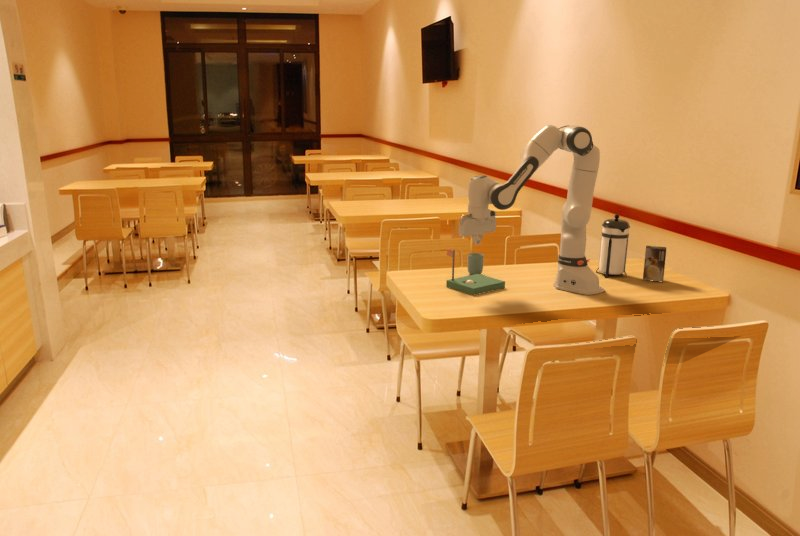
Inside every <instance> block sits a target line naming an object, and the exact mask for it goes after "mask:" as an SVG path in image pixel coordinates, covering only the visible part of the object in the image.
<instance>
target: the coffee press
mask: <svg viewBox="0 0 800 536" xmlns="http://www.w3.org/2000/svg"><path fill="white" fill-rule="evenodd" d="M601 226H602V230H601V238H600V240H601V241H600V251H599V261H598V262H599V263H598V268H597V269H596V270H595V272H596V273H597V272H598V270H599V272H601V273H602V274H604V278H606V277H607V278H610V277H609V276H610V275H621V276H622V277H623V278H625V277H627V276H628V274H627V272H626V266H627V265H626V263H627V255H628V246H629V245H628V244H629V237H630V233H629V232H630V229H631V225H630V223H629V221H627V220H624V219H621V218H620V215H619V214H615V215H614V218H608V219H605V220H604V221H603V223H602V224H601ZM623 273H624V274H623ZM624 276H625V277H624ZM607 278H606V279H607Z"/></svg>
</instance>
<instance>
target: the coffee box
mask: <svg viewBox="0 0 800 536" xmlns="http://www.w3.org/2000/svg"><path fill="white" fill-rule="evenodd" d="M666 256H667V247H666V246H655V245H645V253H644V263H643V275H642V281H643V280H653V281H663V282H664V279H665V277H664V276H665V268H666V267H665V266H666Z"/></svg>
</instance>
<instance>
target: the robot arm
mask: <svg viewBox="0 0 800 536" xmlns="http://www.w3.org/2000/svg"><path fill="white" fill-rule="evenodd" d="M558 149H560V150H563V151H566V152H568V153H572V156H573V162H572V166H571V171H570V176H569V181H568V186H567V196H566V200H565V201H566V202H565V203H564V204H563V205H562V207H561V217H560V219H561V221H560V245H559V246H560V247H559V254H558V259H557V263H558V266H557V271H556V272H557V273H556V277H555V279H554V282H553V286H554V287H555V289H556V290H561V291H566V292H570V293H574V294H575V293H576V294H580V295H586V296H590V295H592V296H593V295H597V294H601V293H603V292H604V291H605V288H604V287H603V286H600V279H599V276H598V275H597V274H596V273H595V272H594V270H592V269H591V268H590V267H589V265H588V263H590V260H591V259H587V256H586V248H587V247H586V246H587V224H588V223H589V221H590V219H591V215H592V209H593V202H594V201H593V200H594V192H595V186H596V182H597V177H598V174H599V168H600V159H601V156H600V155H601V151H600V148H599V147H598V146H596V145H595V144H594V142H593V137H592V133H591V132H590V130H588V129H587V128H586V127H583V126H579V125H564V126H560V127H559V128H558V127H557V126H555V125H552V124H547V125H545V126H544V127H542V128H541V129H540V130H539V131H537V132H536V133H535V134H534V135H533V136H532V137H531V138H530V140H529V141H527V142H526V144H525V145H524V147H523V149H522V150H521V152H520V164H519V165H518V168H517V169H516V170H515V172H514V173H513V174H512V175H511V176H510V177H509V179H508V180H507V181H506V182H505V183H501V182H498V181H496V180H493V179H492V178H490V177H489V176H488V175H476V176H473V177H472V178H471V179H470V180H469V183H468V191H467V193H468V195H467V197H468V204H467V214H462V216H461V217H460V219H459V224H458V231H457V232H458V235H459V236H460V237H465V238H466V237H470V236H471V239H472V240H473V241H472V243H473V245H474V246H475V245H481V244H482V243H481V242H482V239H483V236H484V234H488V233H495V232H496V230H497V211H495V210H493V209H489V205H493V207H495V209H497V210H501V211H502V210H503V211H504V210H508V209H510V208H511V207H512V206H514V204H515V202H516V199H517V197H518V194H519V193H520V191H521V189H523V187H524V186H525V184H526V183H527V182H528V181H529V179H530V178H532V176H533V175H534V173H536V171H537V170H538V169H539V168H540V167H541V166H542V165H543V164H545V162H547V160H548V159H549V158H550V156H552V154H553V153H554V152H555V151H557V150H558Z"/></svg>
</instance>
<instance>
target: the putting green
mask: <svg viewBox="0 0 800 536" xmlns="http://www.w3.org/2000/svg"><path fill="white" fill-rule="evenodd" d="M455 252H456V251H455V249H449V248H446V256H447V257H452V268H451V270H452V271H451V272H452V273H451V279H447V280H446V285H445V286H447V287H446V288H449V287H450V288H449V289H452V288H453V290H455V289H456V290H455V291H458V290H459V291H458V292H461V291H462V293H464V292H465V293H464V294H467V293H468V294H467V295H470V294H472V295H471V296H475V295H474V294H477V295H480V294H479V293H481V294H484V293H483V292H485V293H489V292H488V291H490V292H493V291H492V290H494V291H497V289H498V290H501V289H506V281H505V280H502V279H498V278H494V277H491V276H487V275H484V274H482V273H481V274H474V275H471V274H469V275H465V276H461V277H456V278H455V257H456V256H455V255H456V254H455ZM467 280H472V281H473V282H474V284H466V281H467Z"/></svg>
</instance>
